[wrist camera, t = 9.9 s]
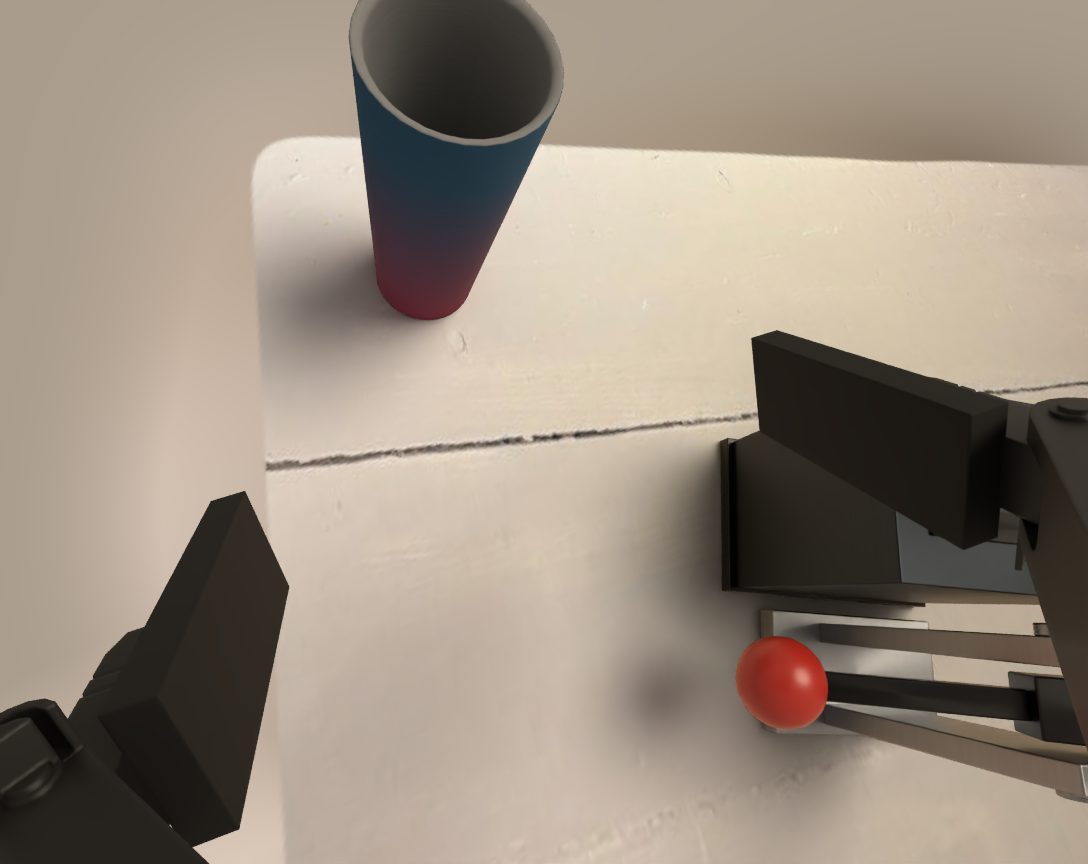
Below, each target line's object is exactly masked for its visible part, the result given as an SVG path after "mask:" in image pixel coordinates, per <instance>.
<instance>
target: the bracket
mask: <svg viewBox="0 0 1088 864" xmlns="http://www.w3.org/2000/svg"><path fill="white" fill-rule="evenodd" d="M760 615H761V639H762V638H765V637H770V636H782V637H787V638H791V639H794V640H796V641H798V642H800V643H802V644H803V645H805V646H806V647H808V648H809V649H810V650H811V651H812V652H813V653H814V654H815V655H816V656H817V658H818V659H819V660H820V662H821V664H822V665H823V667H824V670H825V671H832V672H844V673H855V674H867V675H878V676H890V677H901V678H913V679H924V680H934V677H933V667H932V656H931V654H936V655H946V656H955V657H965V658H975V659H984V660H994V661H1004V662H1014V663H1023V664H1033V665H1043V666H1052V667H1060V665H1059V662H1058V659H1057V656H1056V652H1055V649H1054V646H1053V643H1052V640H1051V637H1050V634H1049V631H1048V628H1047V625H1046V623H1033V629H1034V635H1035V636H1030V635H1013V634H997V633H980V632H963V631H946V630H930V629H929V624H928V622H926V621H914V620H901V619H888V618H875V617H862V616H848V615H835V614H822V613H809V612H796V611H783V610H765V609H762V610H761V611H760ZM763 728H764V729H765V730H768V731H771V732H774V733H777V734H814V735H855V736H868V737H871V738H875V739H879V740H882V741H886V742H889V743H893V744H896V745H900V746H903V747H907V748H910V749H914V750H917V751H921V752H924V753H928V754H932V755H935V756H939V757H942V758H946V759H949V760H953V761H956V762H960V763H963V764H967V765H970V766H974V767H978V768H981V769H985V770H988V771H992V772H995V773H999V774H1002V775H1006V776H1009V777H1013V778H1016V779H1020V780H1023V781H1027V782H1031V783H1034V784H1038V785H1041V786H1045V787H1048V788H1052V789H1055V790H1056V794H1057V795H1059V796H1061V797H1063V798H1066V799H1070V800H1074V801H1078V802H1083V803H1088V751H1087V748H1086V747H1084V746H1079V745H1071V744H1061V743H1052V742H1044V741H1042V740H1039V739H1036V738H1034V737H1031V736H1028V735H1026V734H1023V733H1018V732H1013V731H1008V730H1004V729H999V728H994V727H989V726H985V725H980V724H975V723H970V722H966V721H961V720H956V719H951V718H947V717H942V716H937V712H927V711H917V710H907V709H897V708H887V707H877V706H867V705H857V704H846V703H836V702H826V705H825V707H824V710H823V711H822V713H821V714H820V715H819V716H818V718H817V719H816V720H814V721H813V722H812V723H810V724H809V725H807V726H804V727H802V728H798V729H793V730H783V729H777V728H774V727H771V726H768V725H766V724H764V723H763Z"/></svg>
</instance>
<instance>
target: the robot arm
mask: <svg viewBox="0 0 1088 864" xmlns="http://www.w3.org/2000/svg"><path fill="white" fill-rule="evenodd" d="M751 340H752V351H753V363H754V374H755V385H756V396H757V407H758V418H759V429H760V432H761V433H763V434H764V435H766V436H768V437H770V438H771V439H773V440H775V441H776V442H778V443H780V444H782V445H783V446H785V447H787V448H788V449H790V450H792V451H794V452H795V453H797V454H799V455H800V456H802V457H804V458H806V459H807V460H809V461H811V462H813V463H814V464H816V465H818V466H819V467H821V468H823V469H825V470H826V471H828V472H830V473H831V474H833V475H835V476H837V477H838V478H840V479H842V480H843V481H845V482H847V483H849V484H850V485H852V486H854V487H855V488H857V489H859V490H861V491H862V492H864V493H866V494H867V495H869V496H871V497H873V498H874V499H876V500H878V501H880V502H881V503H883V504H885V505H886V506H888V507H890V508H892V509H893V510H895V511H897V512H898V513H900V514H902V515H904V516H905V517H907V518H909V519H910V520H912V521H914V522H916V523H917V524H919V525H921V526H922V527H924V528H926V529H928V530H929V531H931V532H933V533H934V534H936V535H938V536H940V537H941V538H943V539H945V540H946V541H948V542H950V543H952V544H953V545H955V546H957V547H959V548H960V549H962V550H966V549H968V548H971V547H974V546H976V545H979V544H981V543H984V542H987V541H989V540H992V539H994V538H997V537H998V529H999V517H1000V508H1002V509H1004V510H1006V511H1008V512H1010V513H1012V514H1014V515H1017V516H1019V528H1018V538H1017V549H1016V560H1015V570H1019V571H1022V568H1023V563H1025V562H1026V563H1027V566H1028V569H1029V572H1030V575H1031V578H1032V582H1033V585H1034V588H1035V591H1036V594H1037V597H1038V600H1039V603H1040V606H1041V609H1042V612H1043V615H1044V619H1045V622H1046V625H1047V628H1048V631H1049V634H1050V637H1051V640H1052V643H1053V646H1054V649H1055V652H1056V656H1057V659H1058V662H1059V665H1060V668H1061V671H1062V674H1063V677H1064V680H1065V683H1066V686H1067V689H1068V693H1069V696H1070V699H1071V702H1072V705H1073V708H1074V711H1075V714H1076V717H1077V720H1078V723H1079V726H1080V730H1081V733H1082V736H1083V739H1084V742H1085V745H1086V748H1087V751H1088V398H1057V399H1049V400H1045V401H1041V402H1038V403H1036V404H1034V405H1033V406H1032V407H1029V406H1026V405H1023V404H1019V403H1016V402H1013V401H1010V400H1006V399H1003V398H1000V397H997V396H993V395H990V394H987V393H984V392H980V391H979V392H976V391H975V390H974V389H971V388H967V387H964V386H960V387H959V386H958V384H954V383H951V382H948V381H944V380H941V379H938V378H932V377H926V376H923V375H920V374H917V373H913V372H910V371H907V370H904V369H900V368H897V367H894V366H891V365H887V364H884V363H881V362H878V361H875V360H871V359H868V358H865V357H862V356H858V355H855V354H852V353H849V352H845V351H842V350H839V349H836V348H833V347H829V346H826V345H823V344H820V343H816V342H813V341H810V340H807V339H803V338H800V337H797V336H794V335H790V334H787V333H784V332H781V331H778V330H776V331H773V332H770V333H766V334H763V335H760V336H756V337H753V338H751ZM288 590H289V585H288V583H287V581H286V578H285V576H284V574H283V572H282V570H281V568H280V565H279V563H278V561H277V559H276V557H275V555H274V553H273V550H272V548H271V546H270V544H269V542H268V540H267V537H266V535H265V533H264V531H263V529H262V527H261V525H260V522H259V520H258V518H257V516H256V514H255V511H254V509H253V507H252V505H251V503H250V501H249V498H248V496H247V494H246V492H245V491H243V492H240V493H236V494H233V495H230V496H226V497H223V498H220V499H217V500H213V501H211V502H210V504H209V506H208V508H207V510H206V511H205V513H204V516H203V517H202V519H201V521H200V523H199V525H198V527H197V528H196V530H195V532H194V534H193V536H192V538H191V540H190V542H189V544H188V545H187V547H186V549H185V551H184V553H183V555H182V557H181V559H180V561H179V563H178V564H177V566H176V568H175V570H174V573H173V574H172V576H171V578H170V580H169V582H168V583H167V585H166V587H165V589H164V591H163V593H162V595H161V597H160V599H159V600H158V602H157V604H156V606H155V608H154V610H153V612H152V614H151V615H150V618H149V619H148V621H147V623H146V625H145V627H143V628H140V629H137V630H134V631H131V632H128V633H127V634H126V635H125V636H124V637H123V638H122V639H121V640H120V641H119V642H118V643H117V644H116V645H115V646H114V647H113V648H112V649H111V650H110V651H108V653H107V654H105V656H104V658H103V659H102V661H101V663H100V665H99V666H98V668H97V670H96V671H95V673H94V675H93V680H91V681H90V682H89V684H88V685H87V687H86V689H85V690H84V692H83V694H82V695H83V698H80V699H79V701H78V702H77V704H76V706H75V707H74V709H73V711H72V713H71V714H70V716H69V718H68V719H67V717H66V716H65V715H64V713H63V712H62V710H61V709H60V708H59V706H58V705H57V703H56V702H55V701H51V700H48V699H39V700H34V701H28V702H25V703H23V704H20V705H17V706H15V707H12V708H10V709H7V710H6V711H4V712H2V713H0V864H209V863H208V862H207V861H206V860H205V859H204V858H203V857H201V855H200V854H198V853H197V852H196V851H195V850H194V849H193V848H192V847H194V846H197V845H200V844H202V843H205V842H207V841H210V840H213V839H215V838H218V837H220V836H223V835H226V834H228V833H231V832H233V831H236V830H239V828H240V822H241V818H242V813H243V808H244V804H245V799H246V794H247V789H248V784H249V779H250V775H251V770H252V764H253V760H254V755H255V750H256V745H257V740H258V736H259V731H260V726H261V721H262V716H263V711H264V706H265V702H266V697H267V692H268V687H269V682H270V677H271V673H272V668H273V663H274V658H275V653H276V648H277V644H278V639H279V634H280V629H281V624H282V619H283V615H284V610H285V605H286V600H287V595H288ZM169 825H171V826H172V827H170V826H169Z"/></svg>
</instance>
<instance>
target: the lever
mask: <svg viewBox="0 0 1088 864" xmlns="http://www.w3.org/2000/svg"><path fill="white" fill-rule="evenodd" d="M735 678H736V686H737V690H738V693H739V696H740V698H741V700H742V702H743V704H744V705H745V707H746V708H747V709H748V711H749V712H750V713H751V714H752V715H753V716H754V717H756V718H757V719H758V720H759V721H761V722H763V723H764V724H766V725H768V726H771V727H774V728H777V729H783V730H793V729H798V728H802V727H804V726H807V725H809V724H810V723H812V722H813V721H814V720H816V719H817V718H818V716H819V715H820V714H821V713H822V711H823V710H824V707H825V705H826V702H836V703H846V704H857V705H867V706H877V707H887V708H897V709H907V710H917V711H927V712H937V713H947V714H957V715H967V716H977V717H987V718H997V719H1008V720H1014V727H1015V730H1016V731H1018V732H1020V733H1023V734H1026V735H1028V736H1031V737H1034V738H1036V739H1039V740H1042V741H1044V742H1052V743H1061V744H1071V745H1080V746H1086V745H1085V742H1084V739H1083V736H1082V733H1081V730H1080V726H1079V723H1078V720H1077V717H1076V714H1075V711H1074V708H1073V705H1072V702H1071V699H1070V696H1069V693H1068V689H1067V686H1066V683H1065V680H1064V677H1063V676H1061V675H1049V674H1037V673H1025V672H1012V671H1010V672H1008V679H1009V687H1004V686H993V685H981V684H970V683H958V682H947V681H935V680H924V679H913V678H901V677H890V676H878V675H867V674H855V673H844V672H832V671H825V670H824V667H823V665H822V664H821V662H820V660H819V659H818V658H817V656H816V655H815V654H814V653H813V652H812V651H811V650H810V649H809V648H808V647H806V646H805V645H803V644H802V643H800V642H798V641H796V640H794V639H791V638H787V637H782V636H770V637H765V638H762V639H759V640H757V641H755V642H754V643H752V644H751V645H750V646H748V647H747V648H746V649H745V651H744V652H743V653H742V655H741V657H740V659H739V661H738V664H737V668H736V677H735Z"/></svg>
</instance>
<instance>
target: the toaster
mask: <svg viewBox="0 0 1088 864" xmlns="http://www.w3.org/2000/svg"><path fill="white" fill-rule="evenodd" d="M1010 401H1012V400H1010ZM1013 402H1016V403H1019V404H1023V405H1026V406H1029V407H1032V406H1033V405H1034V404H1028V403H1023V402H1017V401H1013ZM1018 528H1019V516H1017V515H1014V514H1012V513H1010V512H1008V511H1006V510H1004V509H1002V508H1000V517H999V529H998V537H997V538H994V539H992V540H989V541H987V542H984V543H981V544H979V545H976V546H974V547H971V548H968V549H966V550H962V549H960V548H959V547H957V546H955V545H953V544H952V543H950V542H948V541H946V540H945V539H943V538H941V537H940V536H938V535H936V534H934V533H933V532H931V531H929V530H928V529H926V528H924V527H922V526H921V525H919V524H917V523H916V522H914V521H912V520H910V519H909V518H907V517H905V516H904V515H902V514H900V513H898V512H897V511H895V510H893V509H892V508H890V507H888V506H886V505H885V504H883V503H881V502H880V501H878V500H876V499H874V498H873V497H871V496H869V495H867V494H866V493H864V492H862V491H861V490H859V489H857V488H855V487H854V486H852V485H850V484H849V483H847V482H845V481H843V480H842V479H840V478H838V477H837V476H835V475H833V474H831V473H830V472H828V471H826V470H825V469H823V468H821V467H819V466H818V465H816V464H814V463H813V462H811V461H809V460H807V459H806V458H804V457H802V456H800V455H799V454H797V453H795V452H794V451H792V450H790V449H788V448H787V447H785V446H783V445H782V444H780V443H778V442H776V441H775V440H773V439H771V438H770V437H768V436H766V435H764V434H763V433H761V432H760V431H757V432H755V433H753V434H750V435H748V436H746V437H743V438H741V439H739V440H738V439H731V438H727V439H725V440H722V441H721V531H722V591H728V592H740V593H753V594H765V595H777V596H789V597H801V598H813V599H825V600H838V601H850V602H862V603H874V604H886V605H898V606H911V607H925V603H953V604H1032V605H1040V603H1039V600H1038V597H1037V594H1036V591H1035V588H1034V585H1033V582H1032V578H1031V575H1030V572H1029V569H1028V566H1027V563H1026V562H1025V563H1023V568H1022V571H1019V570H1015V560H1016V549H1017V538H1018Z"/></svg>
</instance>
